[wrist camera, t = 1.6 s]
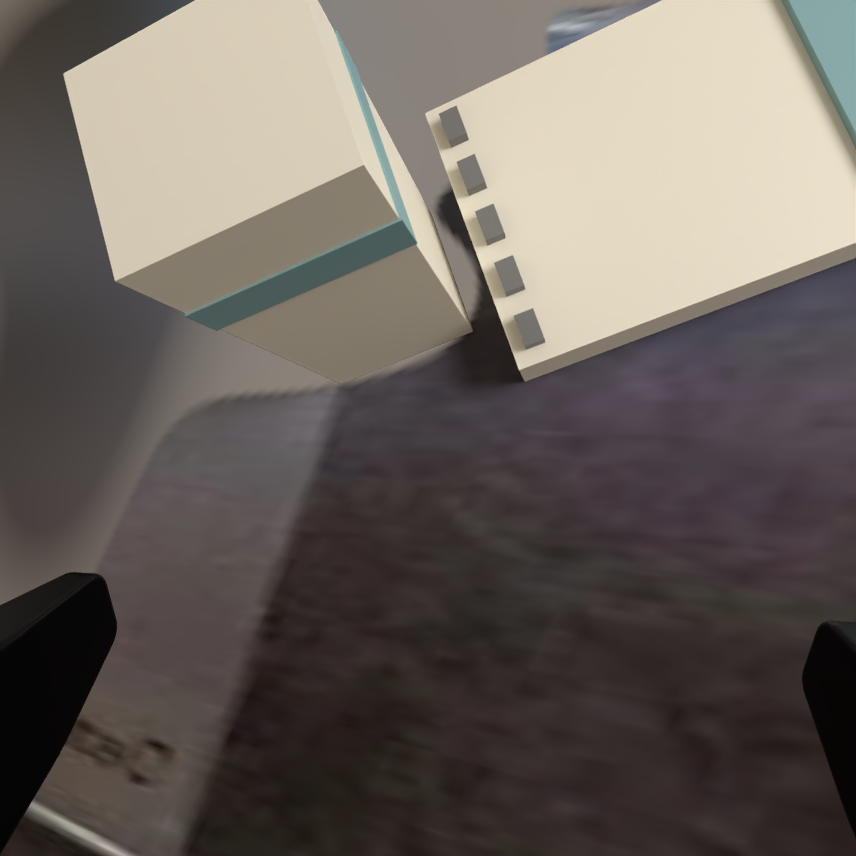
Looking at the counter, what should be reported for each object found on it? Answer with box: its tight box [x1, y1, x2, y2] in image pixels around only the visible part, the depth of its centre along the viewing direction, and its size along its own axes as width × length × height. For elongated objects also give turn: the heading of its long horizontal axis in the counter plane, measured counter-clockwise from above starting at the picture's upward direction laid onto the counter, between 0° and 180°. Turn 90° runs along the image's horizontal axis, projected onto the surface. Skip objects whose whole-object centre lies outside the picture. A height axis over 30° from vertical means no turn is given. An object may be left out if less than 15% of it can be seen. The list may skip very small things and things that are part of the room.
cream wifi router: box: [425, 0, 856, 382], centre depth 18 cm, size 9×16×2 cm, turn 109°
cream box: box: [64, 0, 473, 384], centre depth 16 cm, size 5×5×11 cm
